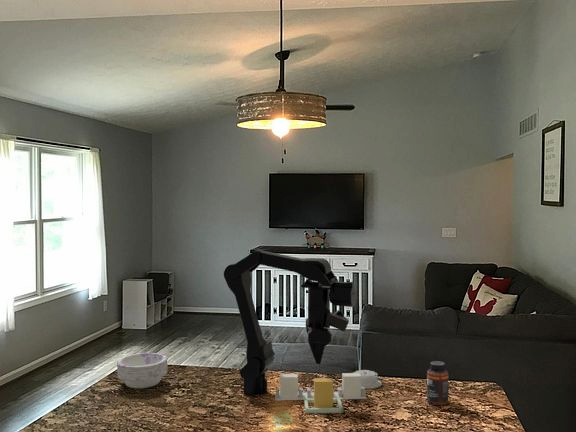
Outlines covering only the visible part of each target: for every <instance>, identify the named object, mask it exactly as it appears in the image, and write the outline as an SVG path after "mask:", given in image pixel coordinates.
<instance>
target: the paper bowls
mask: <svg viewBox="0 0 576 432" xmlns="http://www.w3.org/2000/svg"><path fill="white" fill-rule="evenodd" d="M167 357H168V356H166V355H165V354H163V353H158V352H140V353H139V352H138V353H134V354H133V353H132V354H129V355H128V354H127V355H126V356H123V357H121V358H119V359H118V360H117V362H116V373H117V378H118V379H119V380H120V381H124V384H125V386H127V387H129V388H132V389H146V388H147V389H148V388H151V387H154V386H156V385H158V384H159V383H160V382H161V380H162V378H163V377H165V376H166V375H167V374H168V358H167Z"/></svg>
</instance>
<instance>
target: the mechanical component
mask: <svg viewBox="0 0 576 432" xmlns="http://www.w3.org/2000/svg"><path fill="white" fill-rule="evenodd" d="M352 373H359V374H360V375H361V387H364V388H365V390H369V389H376V388H380V387H381V386H382V384H383V382H382V381H380V380H379V378H378V373H377V372H375V371H374V370H373V371H372V370H369V369H361V370H360V369H359V370H355V371H353V372H352Z"/></svg>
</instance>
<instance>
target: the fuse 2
mask: <svg viewBox="0 0 576 432" xmlns="http://www.w3.org/2000/svg"><path fill="white" fill-rule="evenodd" d="M341 388H342V395H343V397H361V375H360V374H359V373H353V372H348V373H347V372H345V373H344V372H343V373H341Z"/></svg>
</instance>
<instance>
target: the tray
mask: <svg viewBox="0 0 576 432" xmlns="http://www.w3.org/2000/svg"><path fill="white" fill-rule="evenodd" d="M341 400H342V399H340V398H333V404H337V406H338V407H333V408H314V407H310V406H309V404H314V399H304V400H303V404H304V409H305V413H306V414H331V413H332V414H334V413H335V414H340V413H341V414H343V413H344V412H345V411H344V405H343V404H342V401H341Z"/></svg>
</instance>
